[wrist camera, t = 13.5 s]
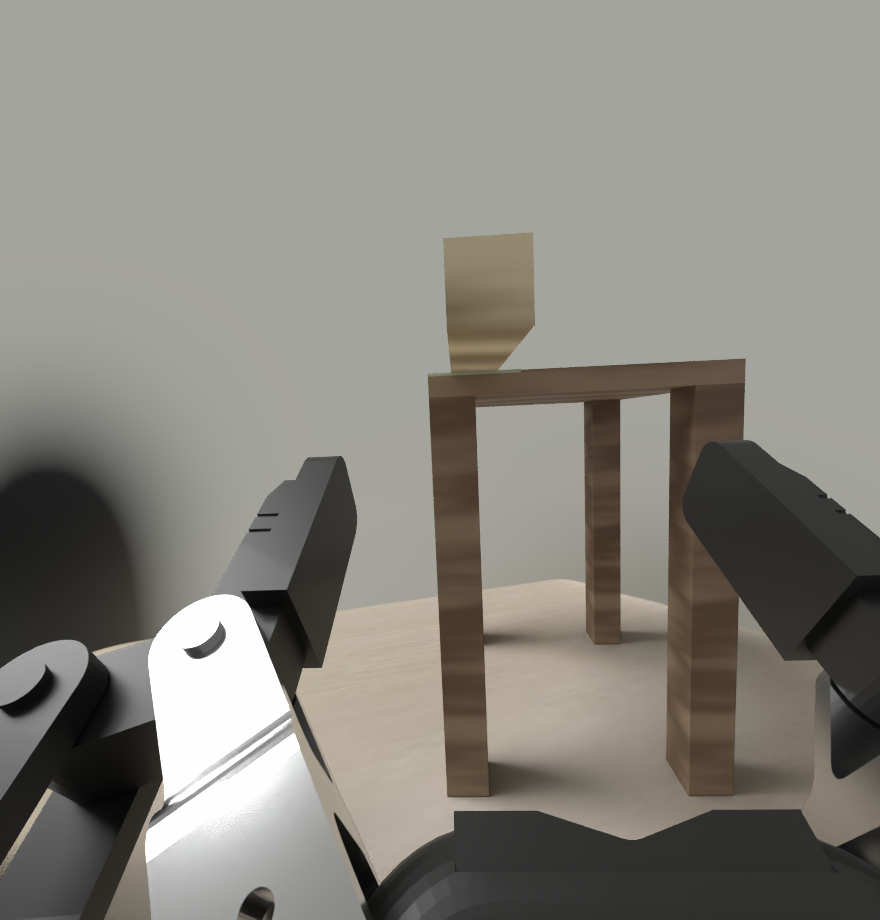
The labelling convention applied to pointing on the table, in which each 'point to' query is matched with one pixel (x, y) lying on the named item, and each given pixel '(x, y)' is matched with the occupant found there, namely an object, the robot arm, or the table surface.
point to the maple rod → (488, 298)
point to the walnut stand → (594, 552)
